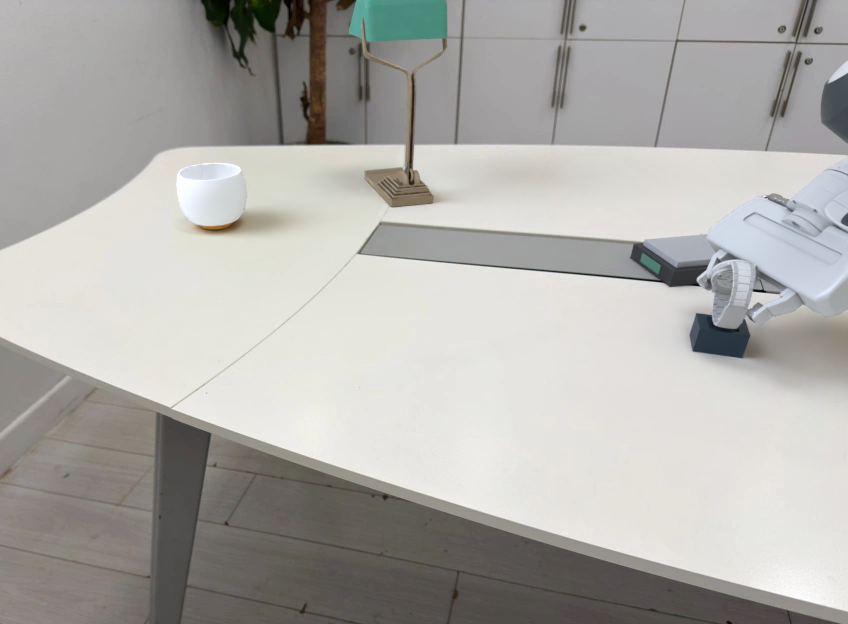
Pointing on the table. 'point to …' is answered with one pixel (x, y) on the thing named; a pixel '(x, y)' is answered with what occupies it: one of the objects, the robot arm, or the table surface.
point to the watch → (726, 311)
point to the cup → (212, 194)
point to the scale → (674, 258)
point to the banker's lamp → (407, 20)
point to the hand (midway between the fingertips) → (725, 302)
